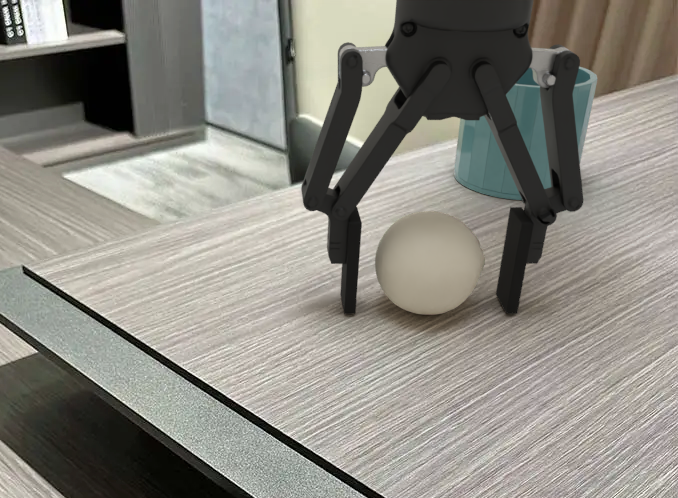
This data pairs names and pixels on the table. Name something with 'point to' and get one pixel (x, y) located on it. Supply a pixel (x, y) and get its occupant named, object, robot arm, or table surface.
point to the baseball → (428, 262)
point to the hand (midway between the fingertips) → (427, 303)
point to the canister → (524, 98)
